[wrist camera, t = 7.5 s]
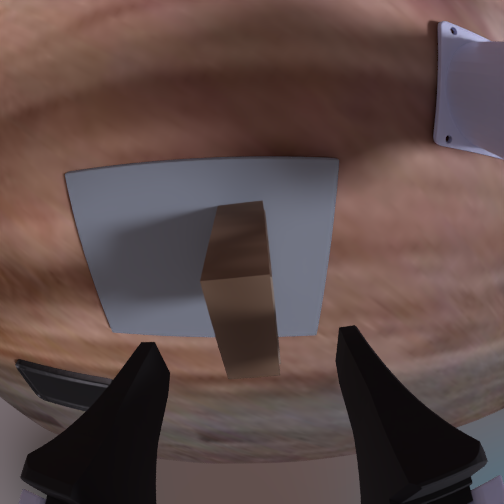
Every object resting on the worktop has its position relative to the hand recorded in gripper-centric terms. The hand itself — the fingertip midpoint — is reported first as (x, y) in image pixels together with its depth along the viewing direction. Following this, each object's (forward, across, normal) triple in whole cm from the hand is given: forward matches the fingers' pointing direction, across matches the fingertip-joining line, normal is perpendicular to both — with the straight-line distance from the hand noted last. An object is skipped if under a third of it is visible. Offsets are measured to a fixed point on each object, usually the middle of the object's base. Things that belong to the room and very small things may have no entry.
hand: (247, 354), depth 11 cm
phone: (+9, +23, +17) cm, 30 cm away
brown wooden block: (+8, 0, 0) cm, 8 cm away
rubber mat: (+8, +3, +1) cm, 9 cm away
